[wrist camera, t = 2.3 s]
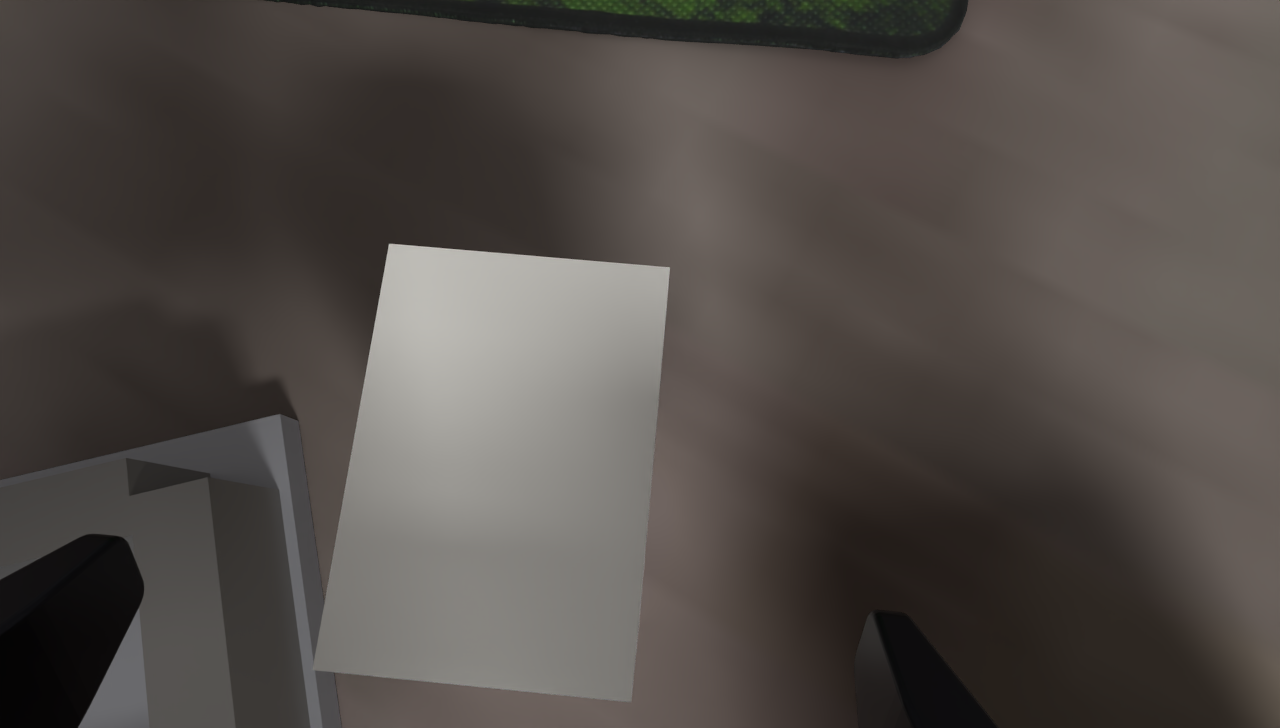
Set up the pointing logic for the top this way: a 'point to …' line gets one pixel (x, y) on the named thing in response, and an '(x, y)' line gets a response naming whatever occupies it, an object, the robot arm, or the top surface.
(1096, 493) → the top surface
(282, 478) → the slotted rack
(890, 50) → the mouse mat
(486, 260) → the plain light grey box
